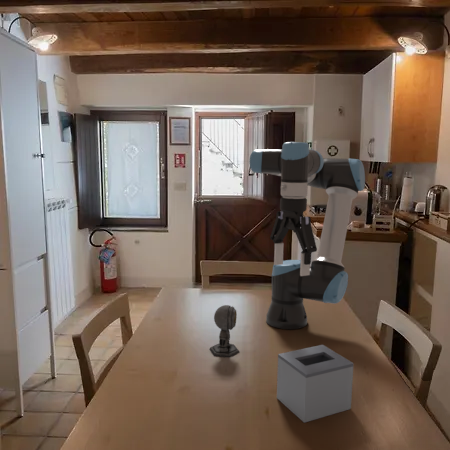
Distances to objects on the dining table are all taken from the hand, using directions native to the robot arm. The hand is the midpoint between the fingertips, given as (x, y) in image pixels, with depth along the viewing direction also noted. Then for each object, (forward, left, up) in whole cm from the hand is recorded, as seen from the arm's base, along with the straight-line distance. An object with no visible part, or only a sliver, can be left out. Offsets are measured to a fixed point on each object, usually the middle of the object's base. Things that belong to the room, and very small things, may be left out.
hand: (291, 269), depth 134 cm
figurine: (+14, -15, -29) cm, 35 cm away
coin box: (+7, +22, -29) cm, 37 cm away
